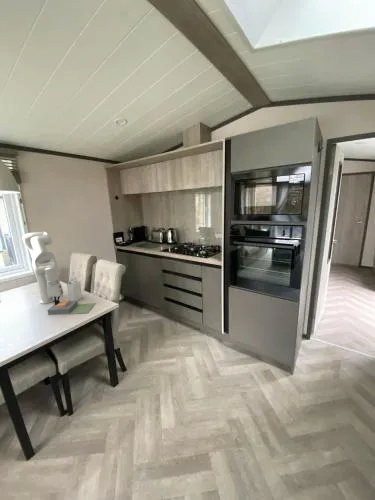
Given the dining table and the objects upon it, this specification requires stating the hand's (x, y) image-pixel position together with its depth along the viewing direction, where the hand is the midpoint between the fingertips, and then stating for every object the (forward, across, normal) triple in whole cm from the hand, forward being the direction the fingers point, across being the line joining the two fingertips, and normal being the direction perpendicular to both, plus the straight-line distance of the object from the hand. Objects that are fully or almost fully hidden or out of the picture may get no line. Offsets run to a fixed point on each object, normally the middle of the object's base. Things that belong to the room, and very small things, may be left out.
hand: (57, 304), depth 171 cm
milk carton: (+5, -5, -19) cm, 20 cm away
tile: (+1, -4, 0) cm, 5 cm away
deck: (+5, -4, 0) cm, 6 cm away
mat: (+5, -19, 0) cm, 20 cm away
